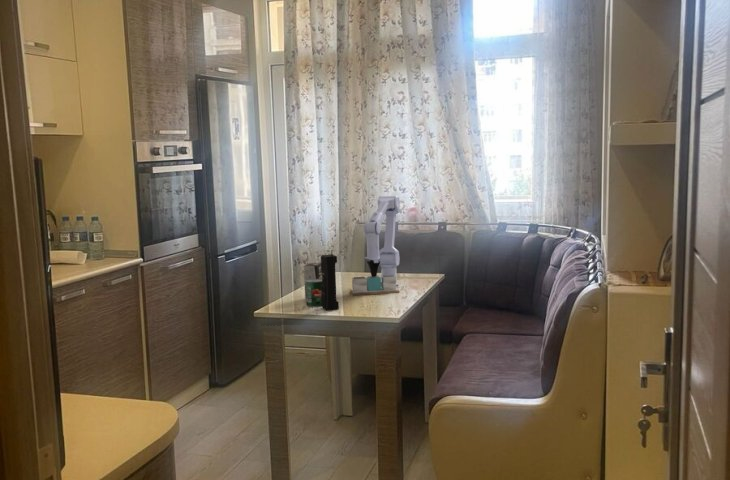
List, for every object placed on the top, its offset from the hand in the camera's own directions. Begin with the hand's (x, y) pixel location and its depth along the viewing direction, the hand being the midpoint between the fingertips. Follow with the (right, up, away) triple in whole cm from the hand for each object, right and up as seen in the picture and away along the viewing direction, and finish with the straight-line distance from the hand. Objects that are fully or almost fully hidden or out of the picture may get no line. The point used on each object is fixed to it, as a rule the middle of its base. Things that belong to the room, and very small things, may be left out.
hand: (373, 276), depth 322 cm
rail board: (0, -8, +1) cm, 8 cm away
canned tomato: (-26, -12, -24) cm, 37 cm away
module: (0, -6, +1) cm, 6 cm away
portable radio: (-19, -12, -32) cm, 39 cm away
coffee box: (-27, -10, -11) cm, 31 cm away
